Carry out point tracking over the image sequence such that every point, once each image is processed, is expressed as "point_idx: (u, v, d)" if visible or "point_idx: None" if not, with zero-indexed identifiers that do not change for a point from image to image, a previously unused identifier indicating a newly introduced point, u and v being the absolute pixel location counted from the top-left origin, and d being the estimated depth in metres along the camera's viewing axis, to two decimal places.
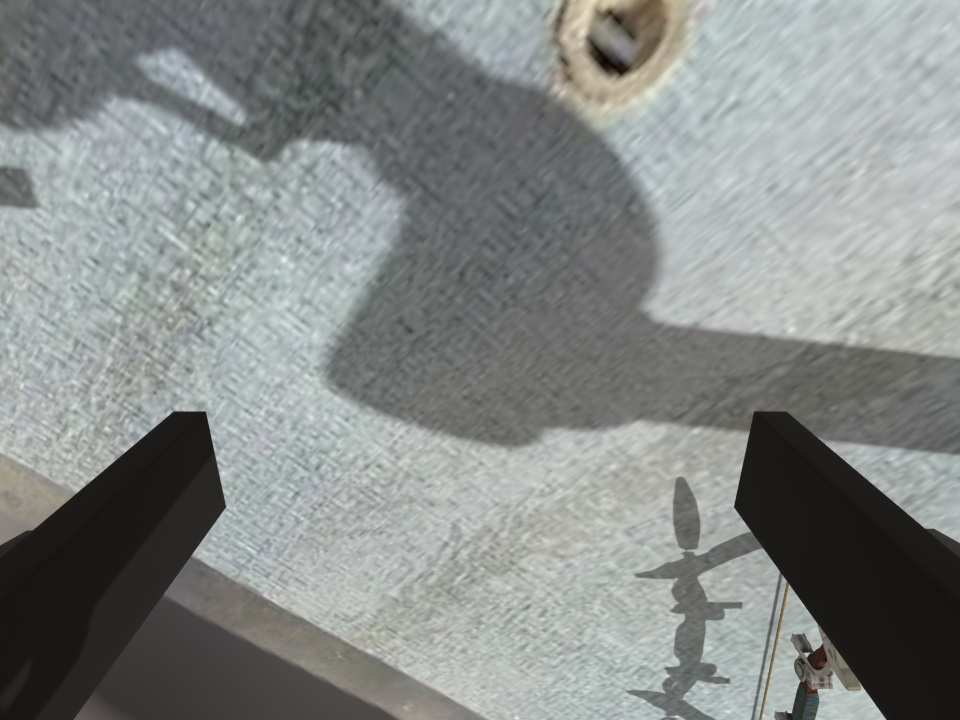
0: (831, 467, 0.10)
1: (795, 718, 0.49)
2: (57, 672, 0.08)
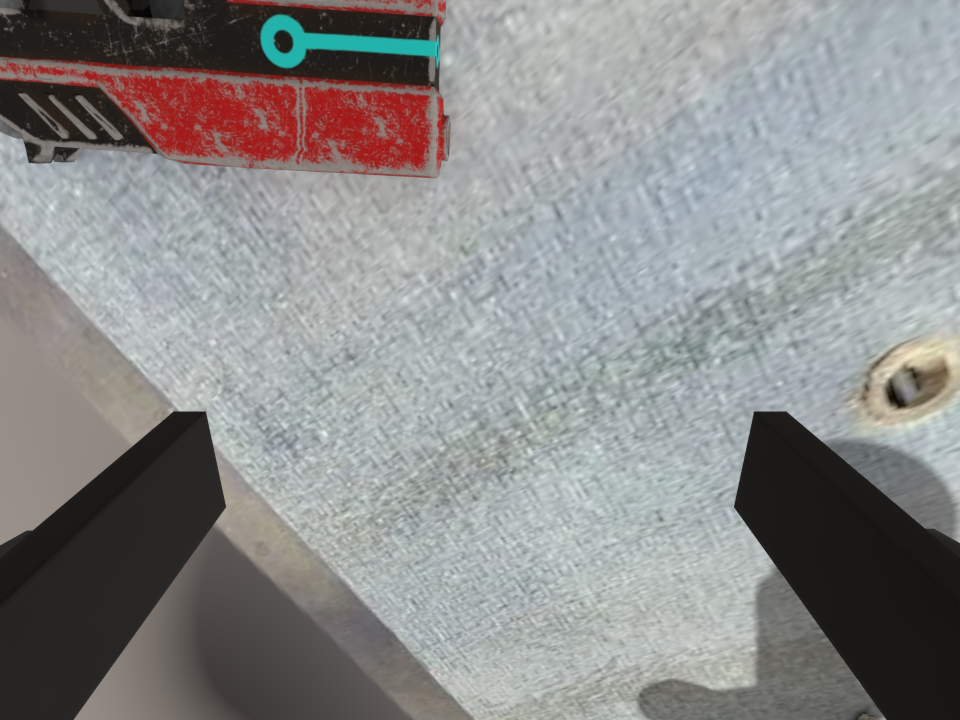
0: (831, 467, 0.10)
1: None
2: (57, 672, 0.08)
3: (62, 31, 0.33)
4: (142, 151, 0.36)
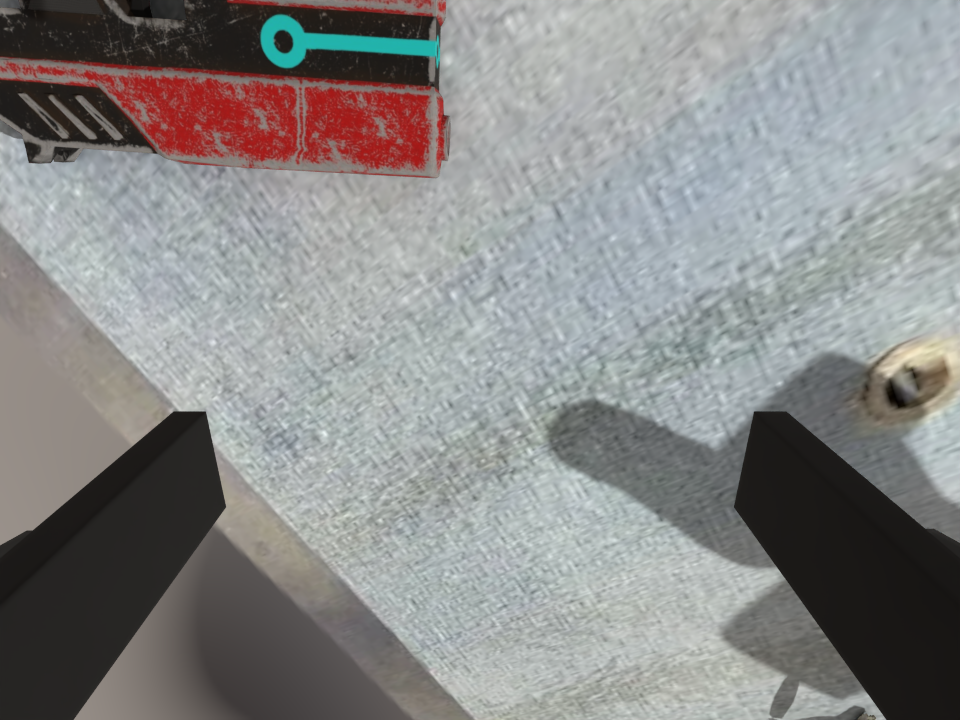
0: (831, 467, 0.10)
1: None
2: (57, 672, 0.08)
3: (62, 31, 0.33)
4: (142, 151, 0.36)
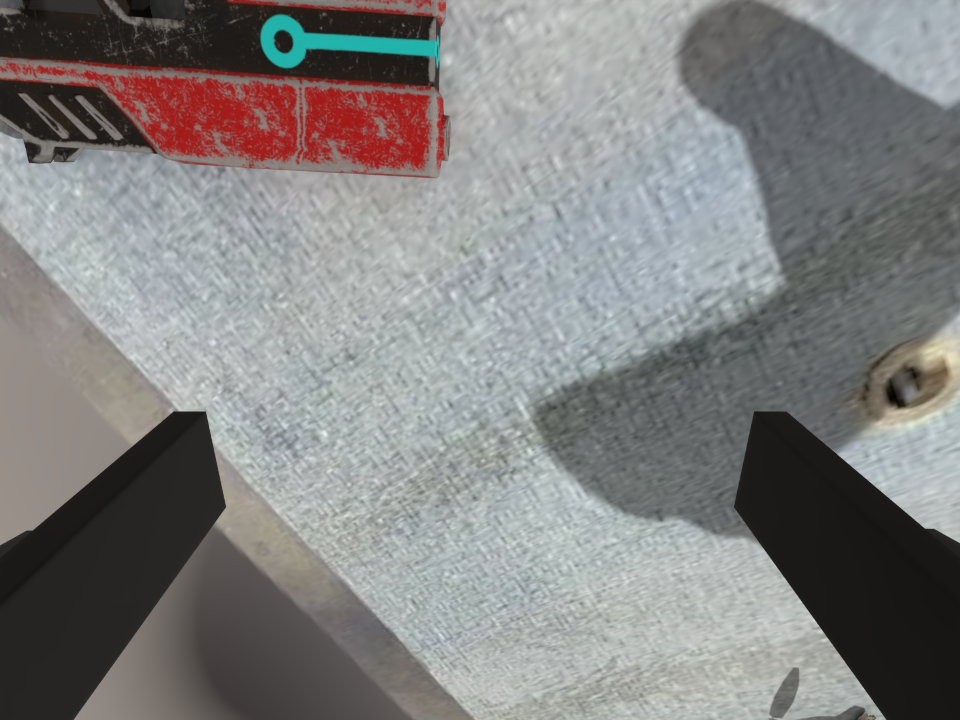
0: (831, 467, 0.10)
1: None
2: (57, 672, 0.08)
3: (62, 31, 0.33)
4: (142, 151, 0.36)
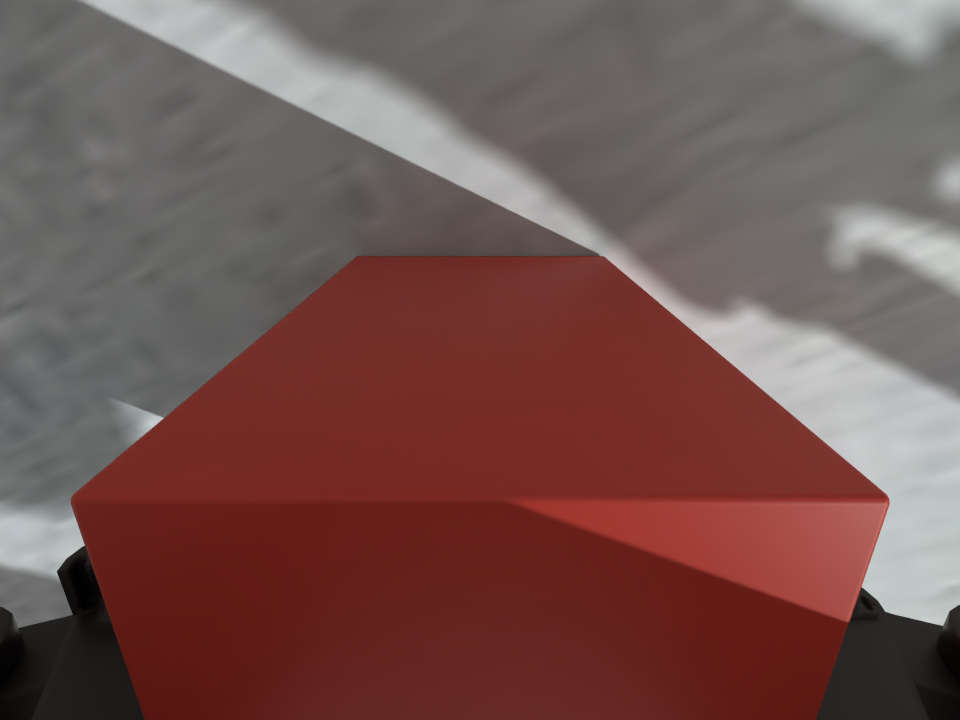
0: None
1: None
2: None
3: None
4: None
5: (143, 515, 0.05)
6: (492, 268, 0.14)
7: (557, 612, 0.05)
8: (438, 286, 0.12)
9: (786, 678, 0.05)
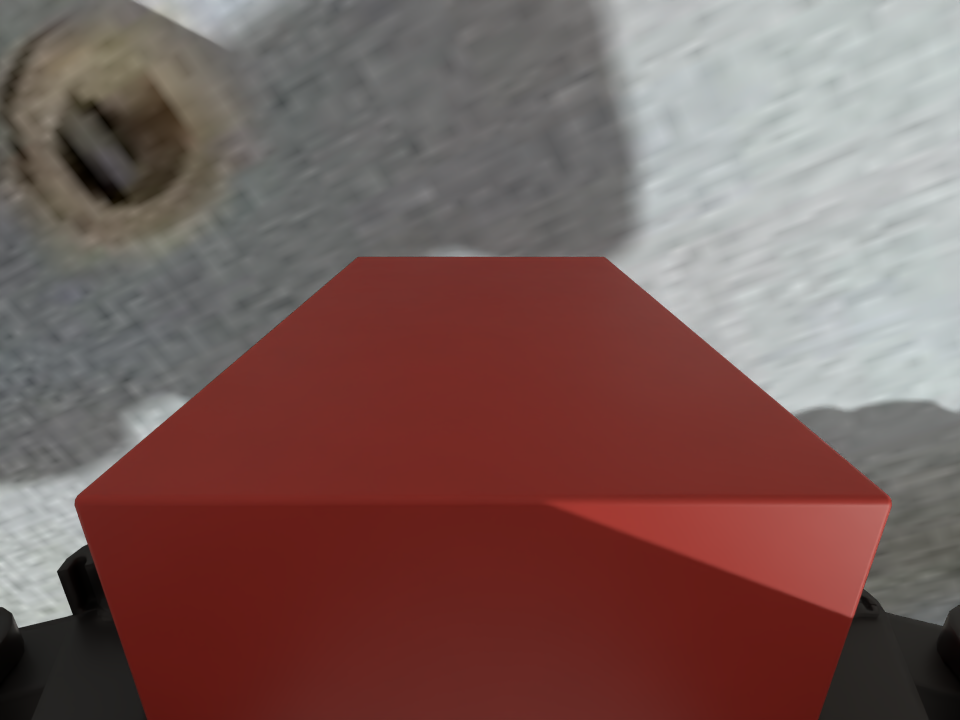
0: None
1: None
2: None
3: None
4: None
5: (147, 516, 0.05)
6: (493, 269, 0.14)
7: (560, 614, 0.05)
8: (440, 287, 0.12)
9: (788, 679, 0.05)
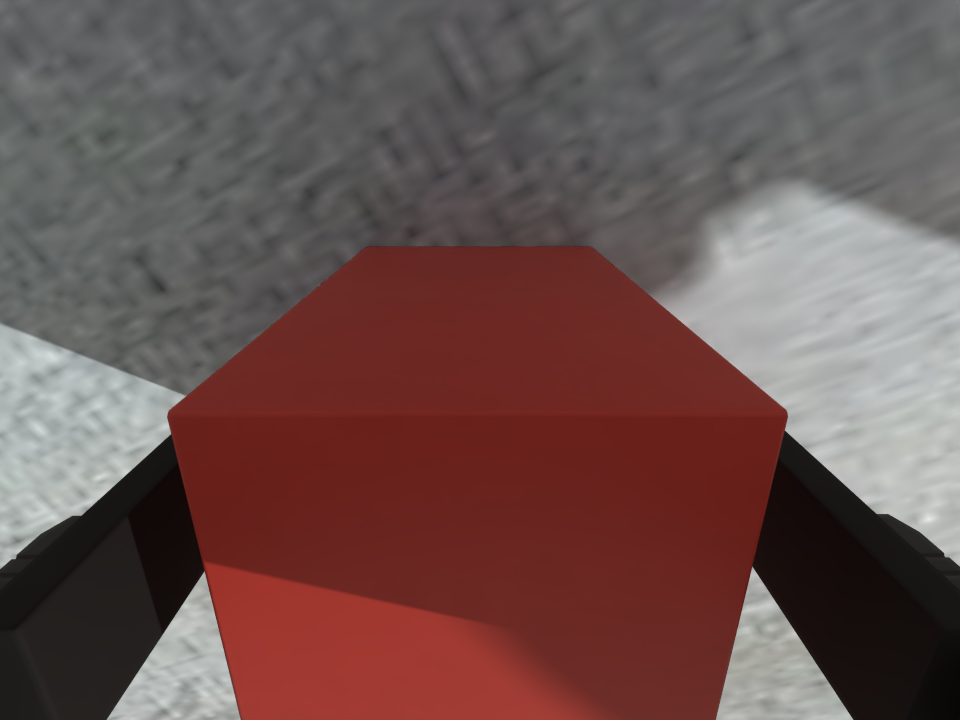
0: (792, 455, 0.11)
1: None
2: (109, 648, 0.08)
3: None
4: None
5: (222, 426, 0.06)
6: (489, 256, 0.15)
7: (538, 507, 0.07)
8: (441, 271, 0.13)
9: (718, 563, 0.07)
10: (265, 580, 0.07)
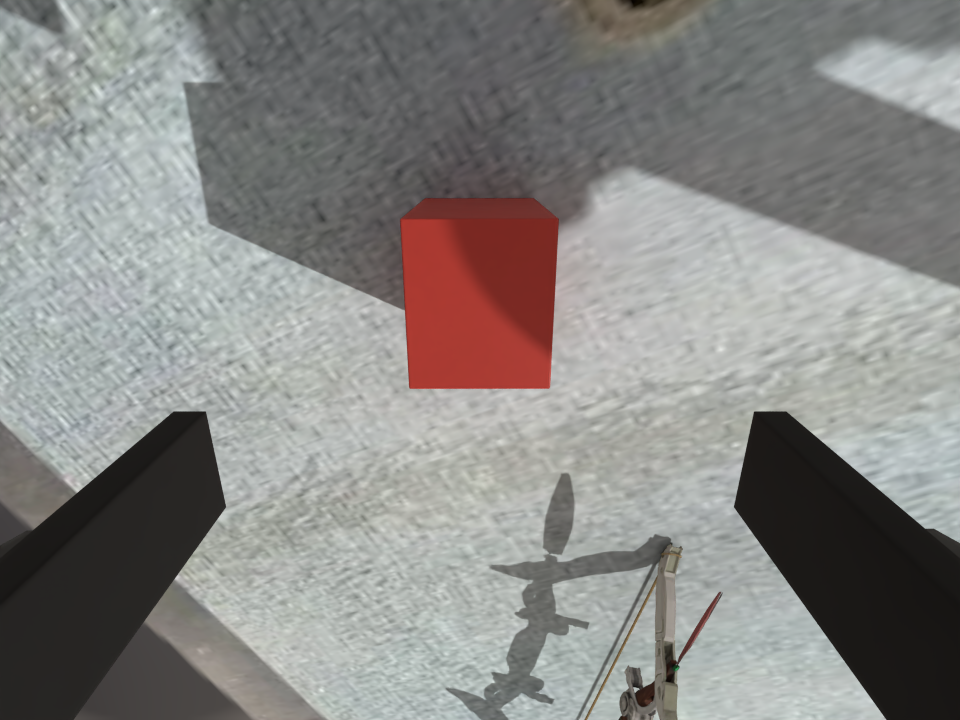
0: (831, 467, 0.10)
1: None
2: (57, 672, 0.08)
3: None
4: None
5: (414, 222, 0.24)
6: (484, 200, 0.33)
7: (495, 247, 0.25)
8: (463, 203, 0.31)
9: (546, 266, 0.25)
10: (420, 272, 0.25)
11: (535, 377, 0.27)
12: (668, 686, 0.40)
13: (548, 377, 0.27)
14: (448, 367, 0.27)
